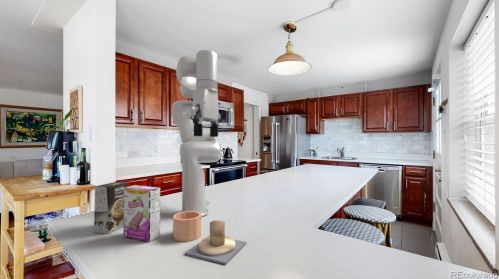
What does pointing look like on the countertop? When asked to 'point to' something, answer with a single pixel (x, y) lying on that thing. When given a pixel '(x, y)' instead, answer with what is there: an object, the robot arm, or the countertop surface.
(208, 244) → the lid
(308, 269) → the countertop surface
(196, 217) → the bowl
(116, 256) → the countertop surface
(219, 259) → the mat
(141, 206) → the candy bar box
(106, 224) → the coffee box
